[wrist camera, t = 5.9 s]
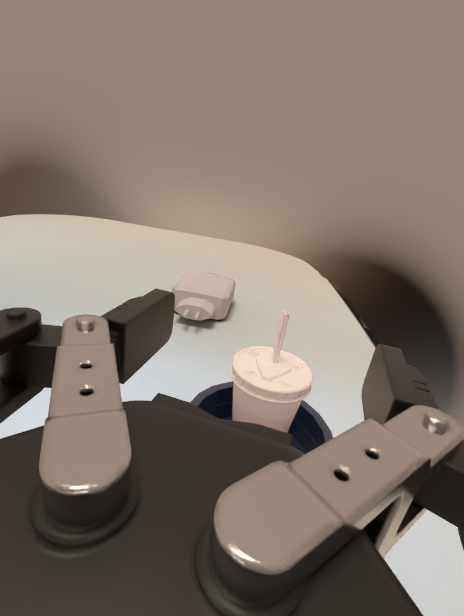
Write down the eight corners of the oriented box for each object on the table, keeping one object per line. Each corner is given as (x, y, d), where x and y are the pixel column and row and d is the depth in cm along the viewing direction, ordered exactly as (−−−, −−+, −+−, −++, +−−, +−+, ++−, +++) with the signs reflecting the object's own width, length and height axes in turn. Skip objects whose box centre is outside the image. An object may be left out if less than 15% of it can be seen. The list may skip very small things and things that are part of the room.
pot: (148, 455, 29) (150, 418, 28) (241, 397, 39) (247, 367, 37) (267, 572, 22) (280, 531, 21) (346, 466, 32) (359, 433, 30)
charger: (157, 326, 51) (184, 293, 65) (218, 338, 50) (232, 302, 64) (159, 296, 49) (186, 268, 63) (223, 309, 49) (236, 278, 62)
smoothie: (293, 447, 32) (332, 312, 27) (279, 504, 27) (324, 347, 21) (229, 424, 34) (254, 292, 29) (203, 472, 28) (228, 319, 23)
